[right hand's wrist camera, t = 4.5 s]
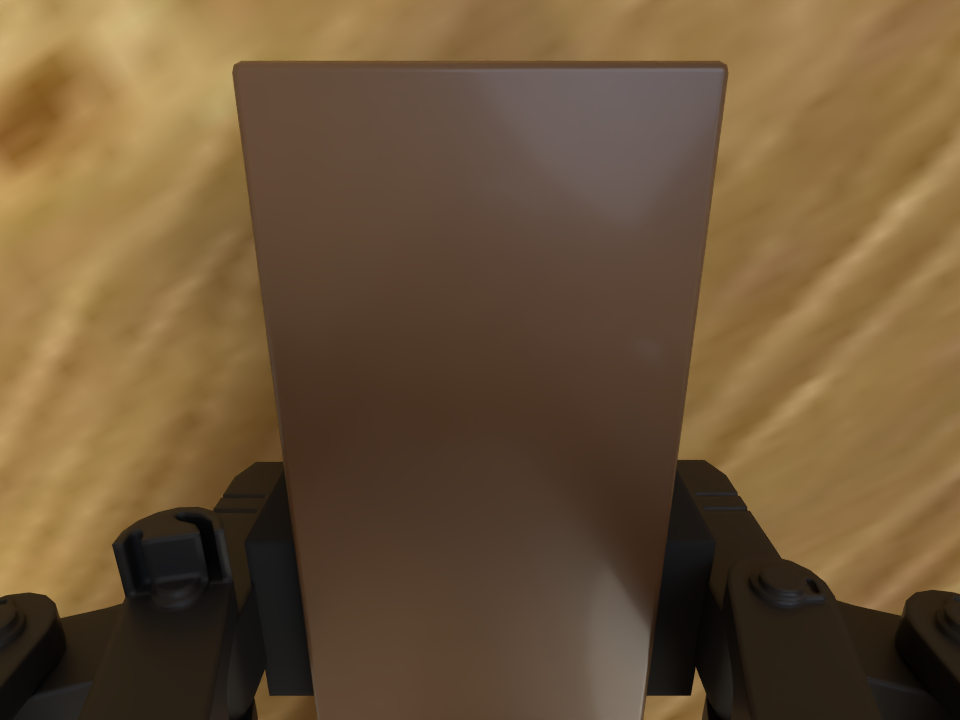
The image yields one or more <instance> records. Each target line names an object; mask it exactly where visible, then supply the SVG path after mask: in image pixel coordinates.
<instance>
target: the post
mask: <svg viewBox="0 0 960 720" xmlns="http://www.w3.org/2000/svg"><path fill="white" fill-rule="evenodd" d="M232 74H233V82H234V90H235V97H236V105H237V112H238V120H239V128H240V135H241V143H242V150H243V158H244V166H245V173H246V181H247V189H248V196H249V204H250V211H251V219H252V227H253V234H254V242H255V249H256V257H257V265H258V272H259V280H260V287H261V295H262V303H263V310H264V318H265V326H266V333H267V341H268V348H269V356H270V364H271V371H272V379H273V386H274V394H275V402H276V409H277V417H278V425H279V432H280V440H281V447H282V455H283V463H284V470H285V478H286V485H287V493H288V501H289V508H290V516H291V524H292V531H293V539H294V546H295V554H296V562H297V569H298V577H299V584H300V592H301V600H302V607H303V615H304V622H305V630H306V638H307V645H308V653H309V661H310V668H311V676H312V683H313V691H314V699H315V706H316V714H317V720H643V717H644V709H645V702H646V694H647V687H648V679H649V671H650V664H651V656H652V649H653V641H654V634H655V626H656V618H657V611H658V603H659V596H660V588H661V580H662V573H663V565H664V558H665V550H666V542H667V535H668V527H669V520H670V512H671V504H672V497H673V489H674V482H675V474H676V467H677V459H678V451H679V444H680V436H681V429H682V421H683V413H684V406H685V398H686V391H687V383H688V375H689V368H690V360H691V353H692V345H693V338H694V330H695V322H696V315H697V307H698V300H699V292H700V284H701V277H702V269H703V262H704V254H705V246H706V239H707V231H708V224H709V216H710V209H711V201H712V193H713V186H714V178H715V171H716V163H717V155H718V148H719V140H720V133H721V125H722V117H723V110H724V102H725V95H726V87H727V79H728V68H727V65H726V64H724V63H722V62H720V61H241V62H238V63H236V64H234V67H233V72H232Z"/></svg>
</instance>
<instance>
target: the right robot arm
mask: <svg viewBox="0 0 960 720" xmlns="http://www.w3.org/2000/svg"><path fill="white" fill-rule="evenodd" d="M112 546H113V550H114V554H115V558H116V562H117V565H118V569H119V573H120V577H121V581H122V585H123V589H124V592H125V596H126V597H125V600H124V602H123V603H122V604H119V605H115V606H112V607H109V608H105V609H100V610H96V611H91V612H87V613H82V614H78V615H73V616H69V617H64V618H60V617H59V614H58V610H57V607H56V604H55V603H54V602H53V601H52V600H51V599H50V598H48V597H47V596H46V595H41V594H35V593H21V594H13V595H6V596H3V597H0V720H258V717H257V710H256V704H255V699H254V696H255V693H256V691H257V688H258V686H259V683H260V680H261V678H262V675H263V673H264V670H265V671H266V677H267V683H268V689H269V695H270V696H314V691H313V683H312V676H311V668H310V661H309V653H308V645H307V638H306V630H305V622H304V615H303V607H302V600H301V592H300V584H299V577H298V569H297V562H296V554H295V546H294V539H293V531H292V524H291V516H290V508H289V501H288V493H287V485H286V478H285V470H284V463H283V462H256V463H254V464H253V465H251V466H250V467H249V468H247V469H246V470H244V471H243V472H242V473H240V474H239V475H237V476H236V477H235V478H234V479H233V481H232V482H231V484H230V485H229V487H228V488H227V490H226V491H225V493H224V494H223V498H221V499H220V500H219V502H218V503H217V505H216V506H215V508H214V511H212V510H208V509H204V508H200V507H180V508H175V509H170V510H166V511H161V512H158V513H155V514H153V515H150V516H148V517H146V518H143V519H141V520H139V521H137V522H136V523H134V524H133V525H131V526H130V527H128V528H127V529H126V530H124V531H123V532H122V533H121V534H120V535H119V536H118V538H117V539H116V540H115V542H114V543H113V544H112ZM695 667H696V668H697V671H698V674H699V676H700V679H701V681H702V684H703V687H704V689H705V692H706V699H705V704H704V710H703V715H702V720H960V594H957V593H953V592H945V591H937V590H929V591H923V592H917V593H915V594H913V595H912V596H911V597H910V598H909V599H907V600H906V603H905V606H904V609H903V612H902V615H901V616H899V615H894V614H890V613H885V612H881V611H876V610H872V609H867V608H863V607H858V606H854V605H851V604H847V603H844V602H840V601H837V600H836V599H835V596H834V595H833V593H832V592H831V590H830V589H829V587H828V586H827V584H826V583H825V582H824V581H823V580H822V579H820V578H819V577H818V576H817V575H815V574H814V573H813V572H812V571H810V570H808V569H806V568H804V567H802V566H800V565H798V564H796V563H794V562H792V561H789V560H785V559H782V558H781V557H780V555H779V554H778V552H777V551H776V549H775V548H774V546H773V545H772V543H771V542H770V540H769V539H768V537H767V536H766V534H765V533H764V531H763V530H762V528H761V527H760V525H759V524H758V522H757V521H756V519H755V518H754V516H753V515H752V513H751V512H750V511H747V506H746V505H745V503H744V502H743V500H742V499H741V497H740V496H738V494H737V491H736V490H735V488H734V487H733V485H732V484H731V482H730V481H729V479H728V478H727V476H726V475H725V474H723V473H722V472H721V471H719V470H718V469H716V468H715V467H714V466H712V465H711V464H709V463H708V462H707V461H705V460H677V467H676V474H675V482H674V489H673V497H672V504H671V512H670V520H669V527H668V535H667V542H666V550H665V558H664V565H663V573H662V580H661V588H660V596H659V603H658V611H657V618H656V626H655V634H654V641H653V649H652V656H651V664H650V671H649V679H648V687H647V694H646V696H691V691H692V685H693V679H694V673H695Z"/></svg>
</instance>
